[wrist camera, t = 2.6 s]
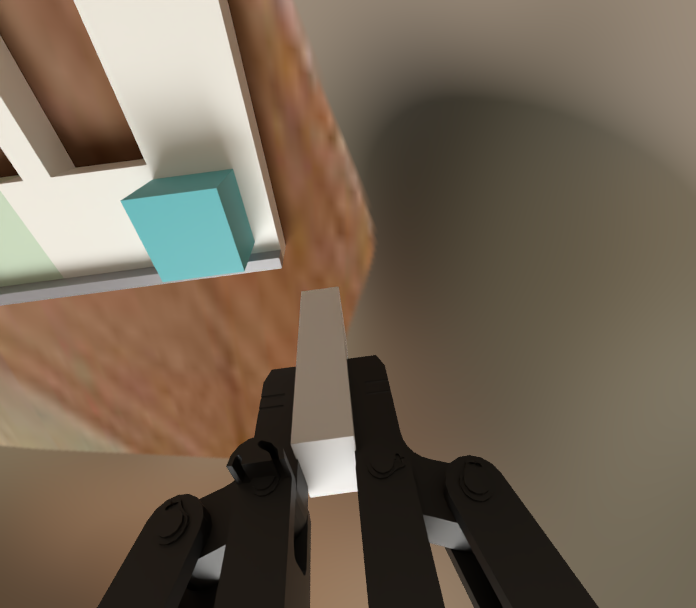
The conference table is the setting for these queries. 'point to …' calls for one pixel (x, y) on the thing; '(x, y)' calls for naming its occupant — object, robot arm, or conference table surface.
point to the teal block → (192, 224)
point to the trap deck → (126, 177)
